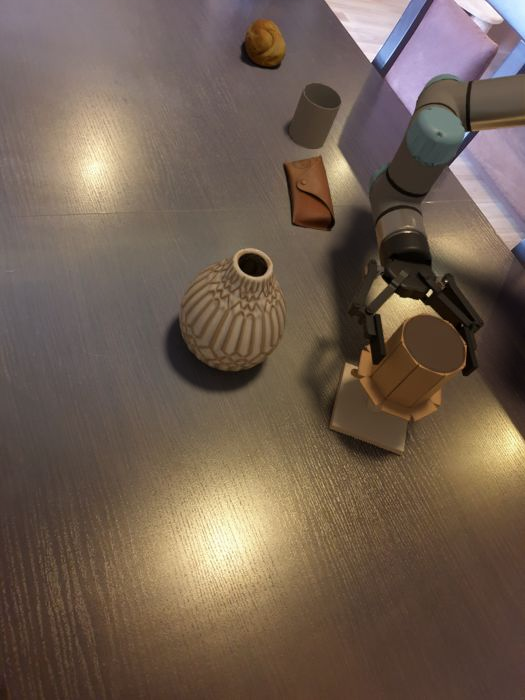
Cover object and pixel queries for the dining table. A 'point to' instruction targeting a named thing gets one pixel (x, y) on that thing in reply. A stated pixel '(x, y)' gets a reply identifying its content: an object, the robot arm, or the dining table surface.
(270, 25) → the bread roll
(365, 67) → the dining table surface
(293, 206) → the sunglasses case
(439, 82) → the robot arm
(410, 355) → the hat
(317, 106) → the cup
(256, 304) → the vase
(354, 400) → the stand
